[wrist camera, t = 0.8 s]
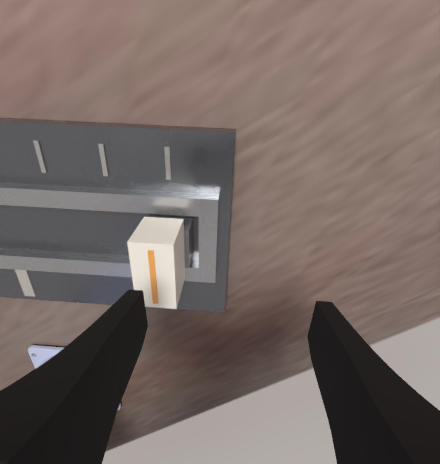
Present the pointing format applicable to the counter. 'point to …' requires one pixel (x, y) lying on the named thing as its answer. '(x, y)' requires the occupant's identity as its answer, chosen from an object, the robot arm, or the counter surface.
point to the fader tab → (161, 258)
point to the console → (109, 206)
